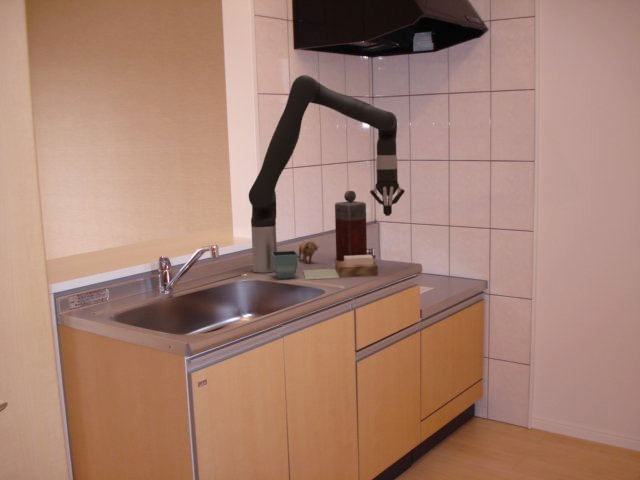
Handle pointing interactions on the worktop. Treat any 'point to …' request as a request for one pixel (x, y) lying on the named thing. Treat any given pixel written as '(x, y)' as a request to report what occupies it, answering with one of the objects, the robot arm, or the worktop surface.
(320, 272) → the mat
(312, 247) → the lion figurine
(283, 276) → the flower pot
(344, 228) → the red drink dispenser
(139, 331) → the worktop surface
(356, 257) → the beige flat block
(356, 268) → the brown wooden block
